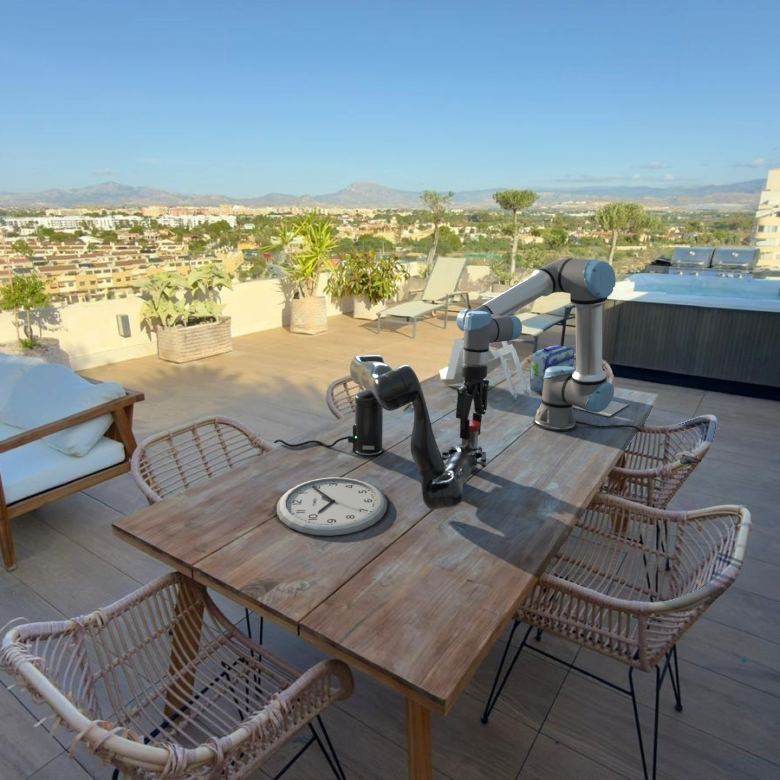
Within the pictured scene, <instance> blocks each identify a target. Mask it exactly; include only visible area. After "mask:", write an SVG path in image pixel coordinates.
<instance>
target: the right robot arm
mask: <svg viewBox="0 0 780 780" xmlns="http://www.w3.org/2000/svg"><path fill="white" fill-rule="evenodd" d="M616 283H617V278H616V272H615V270H614V268H613V266H612V265H611V264H610V263H609V262H607V261H605V260H599V259H596V258H594V259H591V258H574V257H566V258H561V259H557V260H555V261H552V262H550V263H548V264H545V265H544V266H542V267H540V268H537V269H536V270H534V271H533V272H532V274H531V276H529V277H528V278H526V279H525V280H523V281H521V282H520V283H517V284H516V285H514V286H513V287H511V288H509V289H507V290H505V291H504V292H502V293H500V294H499V295H497V296H495V297H493V298H492V299H489V300H488V301H486V302H484V303H483V304H481V305H479V306H477V307H476V308H463V309H461V310H460V311H459V313H458V314H457V316H456V326H457V328H458V329H459V330H460V331H462V332H463V340H464V345H463V365H462V376H463V377H464V383H462V384H463V385H461V386H457V387H456V393H457V398H456V411H455V418H456V419H459V421H460V422H459V439H461V440H462V439H465V440H468V437H469V423H470V420H471V419H470V418H469V416H470V411H471V407H472V403H473V406H474V408H473V409H474V412H473V413H472V420H476V421H478V422H480V430H479V431H478V436H480V435H481V429H482V428H481V427H482V417H483V415H485V414H486V412H487V410H488V392H489V385H490V380H489V379H486V378H487V376H488V374H487V367H488V366H487V365H486V364H487V363H488V355H489V345H490V344H492V343H500V342H501V343H502V341H507V342H510V341H514V340H517V339H518V338H519V337H520V336H521V335H522V333H523V324H522V321H521V319H520V318H519V317H518V316H516V315H513V314H515V312H517V311H520V309H521V310H522V308H524V307H526V306H527V305H529V304H531V303H532V302H534V301H536V300H538V299H540V298H541V297H548V296H550V295H552V294H555V293H565V294H569V299H570V304H572V305H573V306H574V310H575V311H574V312H575V313H574V314H575V315H574V316H575V367H574V366H573V367H570V366H555V367H549V368H547V369H546V370H545V375H544V378H543V379H544V380H543V391H542V393H541V402H540V405H539V407H538V408H537V410H536V413H535V417H534V424H535V425H536V426H537V427H539V428H542V429H544V430H549V431H556V432H567V431H572V430H574V429H575V428H576V424H578V425H583V426H588V427H591V428H599V429H609V428H610V429H611V428H632V429H635V430H637V432H640V433H642V432H643V431H642V429H640V428H639V427H637V426H636V425H632V424H610V425H599V424H592V423H588V422H582V421H579V420H578V421H577V420H576V418H575V417H576V416H575V413H574V407H576V406H577V407H580V408H582V409H585V410H586V411H585V412H588V411H591V412H590V413H592V412H596V413H597V412H601V411H603V410H604V409H605V408H606V407H607V406H608V405H609V403H610V402H611V401H613V398H614V395H615V387H614V385H613V384H612V383H611V382H610V381H608V375H607V372H606V371H605V370H604V369H603V305H604V304H605V303H607V301H608V297H609V296H611V295H612V294H613V292H614V288H615V287H616ZM573 406H574V407H573ZM596 413H595V414H596Z"/></svg>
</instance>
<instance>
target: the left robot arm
mask: <svg viewBox="0 0 780 780" xmlns="http://www.w3.org/2000/svg"><path fill="white" fill-rule="evenodd" d="M349 374H350V378H351V379H352V381H353V383H354V384H356V385H360V386H362V387H363V388H364V389H363V390H361V391H359V392H357V393H356V394H355V396H354V423H353V425H352V431H351V433H350V434H348V435H347V436H344V437H340V438H337V439H336V440H335V441H333V443H331V444H325V443H324V442H322V441H321V440H315V439H313V440H306V441H304V442H303V441H302V442H300V443H295V444H293V443H292V444H291V443H288V442H286V441H284V440H282V439H276V440H275V441H273V443H274V444H277V443H281V444H283V445H285V446H287V447H290V448H294V447H295V448H297V447H302V446H304V445H307V444H313V443H316V444H319V445H321V446H323V447H326V448H333V447H334V446H335V445H337V443H339V442H341V441H344V440H347V443H349V444H350V443H351V444H352V452H353V453H356V454H357V455H360V456H363V457H374V456H378V455H380V454H381V453H382V452H383V429H384V428H383V425H384V424H383V423H384V421H383V420H384V419H383V417H384V411H385V410H386V411H388V412H392V411H396V410H398V409H400V408H403V407H406V406H407V405H409V404H410V403H411V402H412V404H411V405H412V408H413V414H414V415H413V426H412V431H411V437H410V453H411V457H412V460H413V462H414V464H415V467H416V469H417V471H418V475H419V480H420V484H421V496H422V501H423V503H424V505H425V507H426V508H428V509H430V510H432V511H434V510H443V509H449V508H455V507H458V506H459V505H460V504H461V503H462V502H463V499H464V493H463V492H464V491H463V486H464V485H465V483H466V482H467V481H468V479H469V477H470V476H471V474H472V472H473V471H472V470H473V468H474V466H476V467H477V465H480V466H481V467H482V468H486V467H487V452H486V451H483V447H482V446H481V445H477V450H476V451H472V452H470V453H465V452H461V445H462V442H461V443H459V444H458V445H457V446H455V447H454V446H452V445H451V446H449V447H448V448H446V449H445V450H443V451H442V452H441V450H440V448H439V446H438V443H437V440H436V438H435V434H434V430H433V427H432V426H433V425H432V422H431V418H430V414H429V411H428V406H427V403H426V399H425V395H424V391H423V388H422V385H421V383H420V382H421V381H420V379H419V378H418V375H417V374H416V372H415V370H414V369H413V368H412V367H411V366H410V365H408V364H403V365H401V366H399V367H396V368H394V369H393V368H392V367H391V366H390V365H388V364H386V363H385V360H384V358H383V356H382V355H381V354H371V355H369V354H368V355H367V354H366V355H356V356H354V357H353V358H352V359H351V361H350V364H349ZM446 460H447V461H446ZM445 461H446V462H445ZM436 479H437V481H434V480H436Z"/></svg>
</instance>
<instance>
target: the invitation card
mask: <svg viewBox="0 0 780 780" xmlns="http://www.w3.org/2000/svg"><path fill="white" fill-rule="evenodd" d="M628 406H629V404H627V403H623V402H618V401H614V400H611V402H610V403H609V405H608V406H607V407H606V408H605V409H604V410H603V411H601V412H597V413H596V412H591V411H586V410H585V409H582V408H580V407H577V406H574V407H573V409H575V410H581V411H584V412H587V413H593V414H596V415H600V416H604V417H608V418H609V417H611V416H613V415H614V414H616V413H617V412H619V411H621V410H623V409H624V408H626V407H628Z"/></svg>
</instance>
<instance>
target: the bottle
mask: <svg viewBox="0 0 780 780" xmlns="http://www.w3.org/2000/svg"><path fill="white" fill-rule="evenodd" d="M461 443H462V445H461V452H465V453H470V452H472V451H476V450H477V448H478V446H479V445H478V443H479V435H478V431H477V432H469V437H468V440H465V439H462V438H461ZM476 469H477V465H476V466H474V468H473V470H472V472H475V471H476Z"/></svg>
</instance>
